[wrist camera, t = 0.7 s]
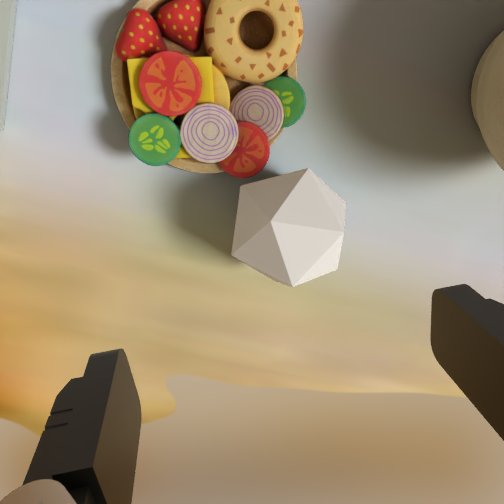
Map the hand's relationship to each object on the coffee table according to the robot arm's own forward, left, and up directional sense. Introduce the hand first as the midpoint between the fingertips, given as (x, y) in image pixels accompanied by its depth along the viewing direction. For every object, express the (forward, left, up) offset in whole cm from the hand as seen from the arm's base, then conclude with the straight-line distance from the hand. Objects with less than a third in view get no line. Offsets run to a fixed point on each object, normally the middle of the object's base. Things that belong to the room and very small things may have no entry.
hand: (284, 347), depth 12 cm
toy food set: (-5, -2, -25) cm, 26 cm away
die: (+3, +6, -25) cm, 26 cm away
